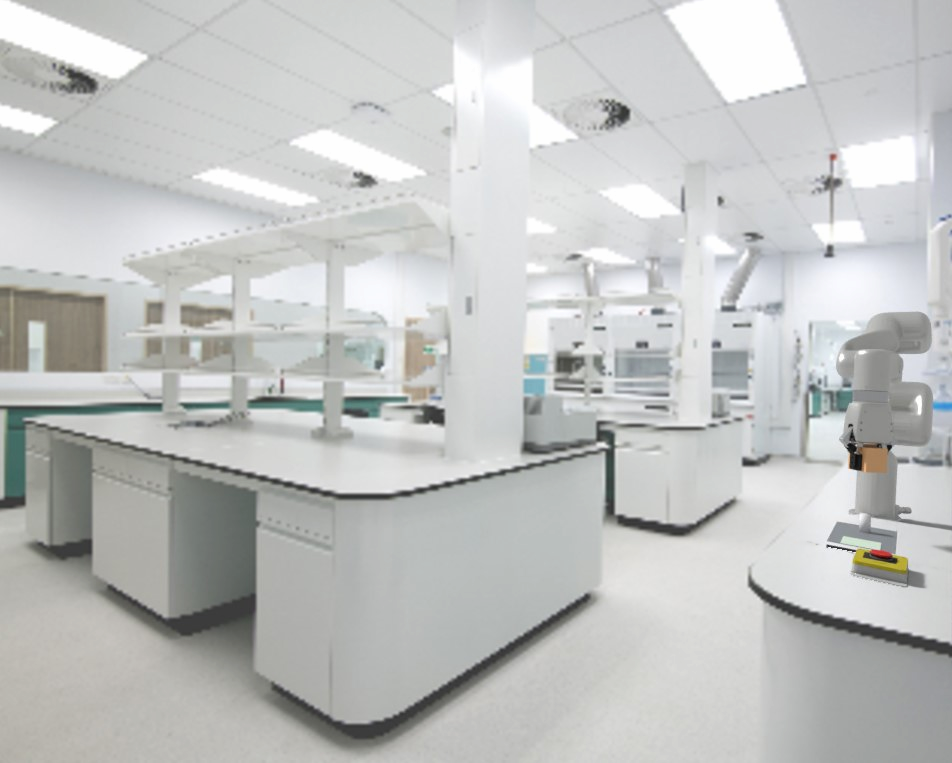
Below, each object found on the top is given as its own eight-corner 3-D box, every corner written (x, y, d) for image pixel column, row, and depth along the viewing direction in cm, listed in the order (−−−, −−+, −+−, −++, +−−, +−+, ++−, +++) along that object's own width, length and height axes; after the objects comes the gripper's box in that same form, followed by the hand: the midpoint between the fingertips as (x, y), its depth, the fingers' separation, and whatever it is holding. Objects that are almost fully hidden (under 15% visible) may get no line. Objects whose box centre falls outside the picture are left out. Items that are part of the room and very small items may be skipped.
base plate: (836, 526, 150) (837, 505, 149) (896, 537, 141) (897, 514, 141) (826, 547, 131) (827, 522, 131) (894, 560, 123) (896, 534, 123)
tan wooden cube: (867, 469, 140) (869, 443, 140) (886, 473, 135) (887, 446, 135) (847, 468, 140) (849, 442, 140) (865, 472, 134) (867, 445, 134)
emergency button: (909, 550, 118) (907, 568, 106) (908, 570, 118) (906, 590, 106) (857, 540, 124) (850, 556, 112) (856, 560, 124) (849, 577, 112)
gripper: (888, 399, 142) (884, 468, 142) (827, 396, 140) (824, 466, 140) (914, 400, 135) (910, 473, 135) (851, 397, 133) (847, 471, 133)
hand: (866, 469), depth 137 cm, fingers closed on tan wooden cube, 5 cm apart
